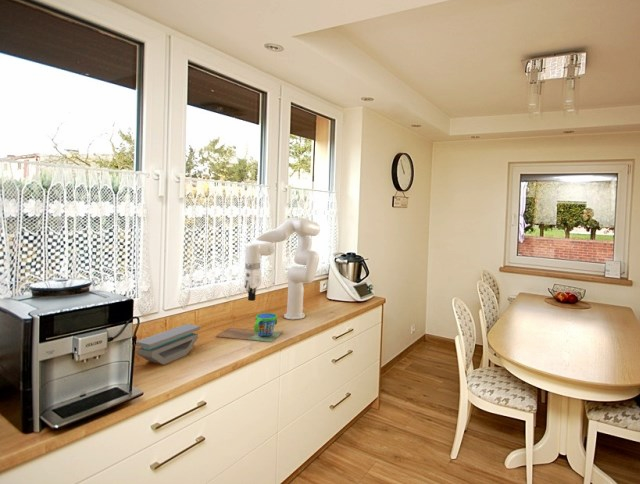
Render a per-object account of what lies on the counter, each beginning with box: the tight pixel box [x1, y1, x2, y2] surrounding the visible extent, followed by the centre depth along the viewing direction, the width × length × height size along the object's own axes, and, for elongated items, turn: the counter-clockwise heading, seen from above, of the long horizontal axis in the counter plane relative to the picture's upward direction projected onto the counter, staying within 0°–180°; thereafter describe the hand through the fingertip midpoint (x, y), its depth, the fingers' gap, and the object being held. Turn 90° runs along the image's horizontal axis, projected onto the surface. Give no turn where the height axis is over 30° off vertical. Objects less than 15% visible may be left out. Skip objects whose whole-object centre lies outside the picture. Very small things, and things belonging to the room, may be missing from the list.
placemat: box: [216, 327, 282, 343], centre depth 190 cm, size 13×29×1 cm, turn 85°
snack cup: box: [253, 312, 278, 336], centre depth 191 cm, size 16×10×10 cm
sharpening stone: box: [135, 323, 201, 366], centre depth 157 cm, size 25×8×11 cm, turn 164°
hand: (251, 300), depth 191 cm, fingers closed
